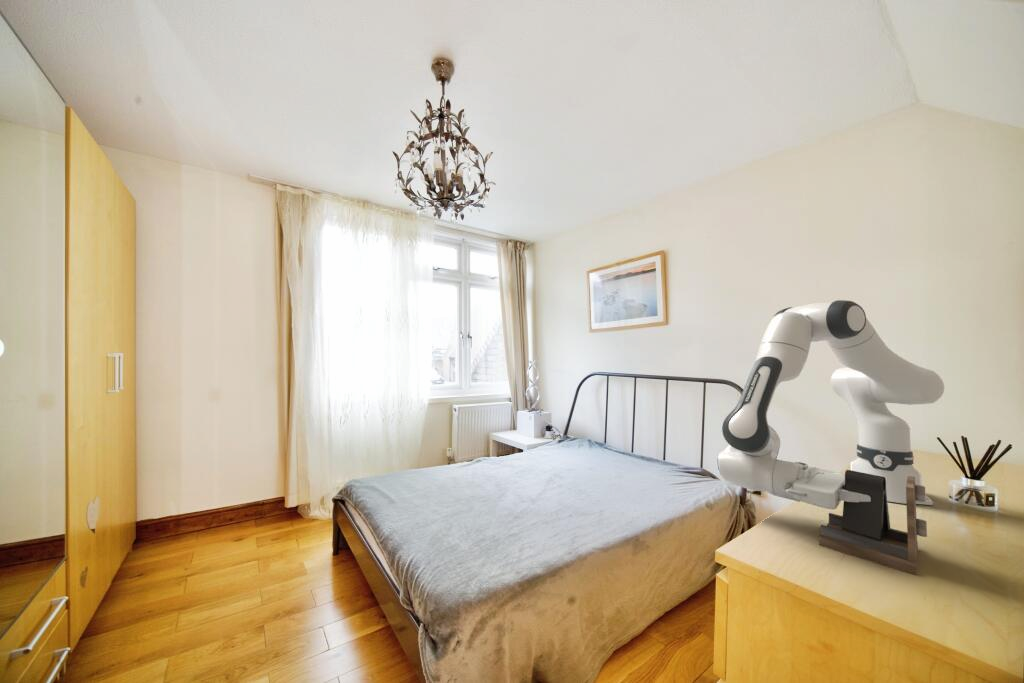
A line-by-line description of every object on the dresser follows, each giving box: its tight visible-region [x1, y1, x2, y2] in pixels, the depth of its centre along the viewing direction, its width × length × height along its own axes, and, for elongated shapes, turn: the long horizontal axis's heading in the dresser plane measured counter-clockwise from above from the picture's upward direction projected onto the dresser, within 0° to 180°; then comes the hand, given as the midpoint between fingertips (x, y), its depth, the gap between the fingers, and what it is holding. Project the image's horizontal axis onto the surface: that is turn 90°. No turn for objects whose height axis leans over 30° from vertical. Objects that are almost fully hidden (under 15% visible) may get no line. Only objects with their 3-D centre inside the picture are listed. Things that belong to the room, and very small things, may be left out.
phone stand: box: [842, 469, 891, 541], centre depth 78 cm, size 9×6×12 cm, turn 124°
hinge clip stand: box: [818, 476, 928, 576], centre depth 77 cm, size 15×15×16 cm
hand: (871, 498), depth 77 cm, fingers closed on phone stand
